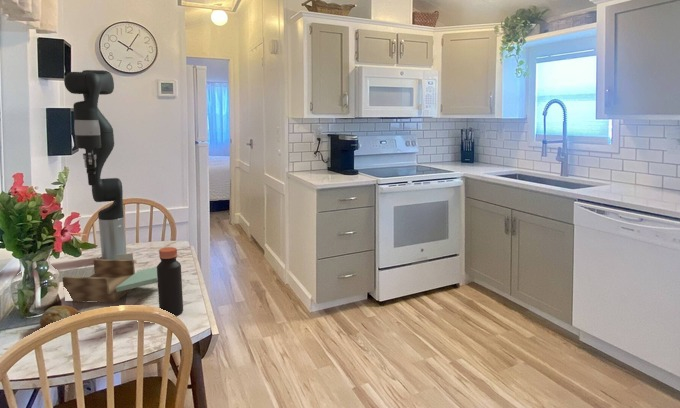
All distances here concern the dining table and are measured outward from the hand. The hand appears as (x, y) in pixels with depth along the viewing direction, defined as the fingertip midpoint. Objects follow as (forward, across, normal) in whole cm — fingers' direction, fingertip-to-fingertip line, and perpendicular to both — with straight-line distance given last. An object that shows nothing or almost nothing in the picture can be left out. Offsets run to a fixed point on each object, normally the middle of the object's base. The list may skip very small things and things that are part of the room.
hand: (92, 184), depth 160 cm
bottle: (+35, -38, -18) cm, 55 cm away
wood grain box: (+35, -10, -1) cm, 36 cm away
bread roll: (+35, -34, +11) cm, 50 cm away
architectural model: (+36, +9, -9) cm, 38 cm away
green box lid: (+32, -14, -8) cm, 36 cm away
